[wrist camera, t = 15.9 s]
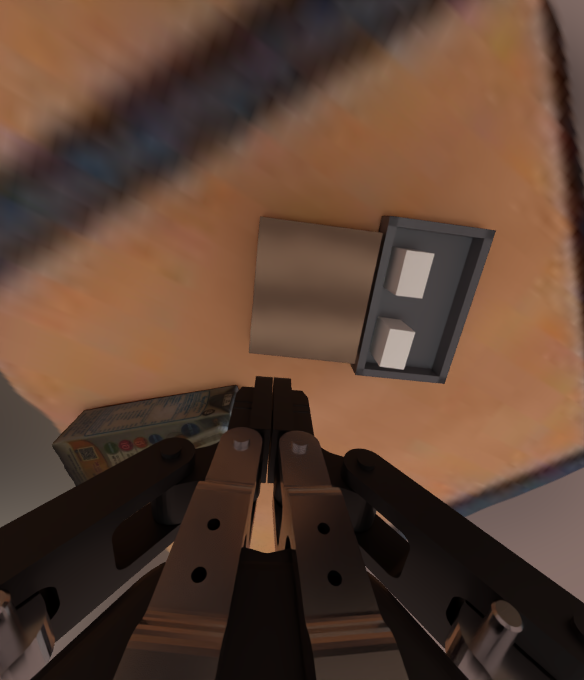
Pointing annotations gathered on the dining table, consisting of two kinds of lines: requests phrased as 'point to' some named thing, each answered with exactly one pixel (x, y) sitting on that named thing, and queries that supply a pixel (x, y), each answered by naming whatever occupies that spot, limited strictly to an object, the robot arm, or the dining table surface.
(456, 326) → the tray
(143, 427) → the beverage carton
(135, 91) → the dining table surface
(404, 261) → the tile
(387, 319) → the tile
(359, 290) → the flat wooden board
